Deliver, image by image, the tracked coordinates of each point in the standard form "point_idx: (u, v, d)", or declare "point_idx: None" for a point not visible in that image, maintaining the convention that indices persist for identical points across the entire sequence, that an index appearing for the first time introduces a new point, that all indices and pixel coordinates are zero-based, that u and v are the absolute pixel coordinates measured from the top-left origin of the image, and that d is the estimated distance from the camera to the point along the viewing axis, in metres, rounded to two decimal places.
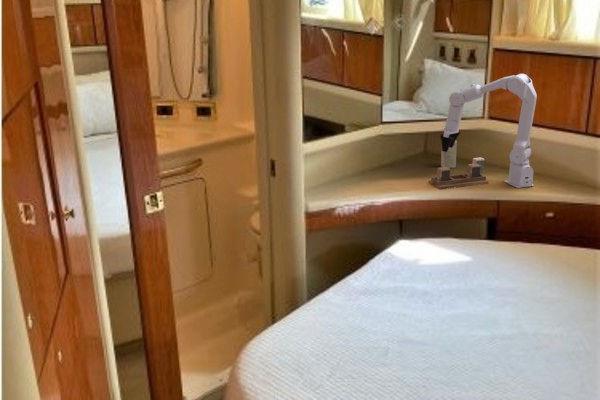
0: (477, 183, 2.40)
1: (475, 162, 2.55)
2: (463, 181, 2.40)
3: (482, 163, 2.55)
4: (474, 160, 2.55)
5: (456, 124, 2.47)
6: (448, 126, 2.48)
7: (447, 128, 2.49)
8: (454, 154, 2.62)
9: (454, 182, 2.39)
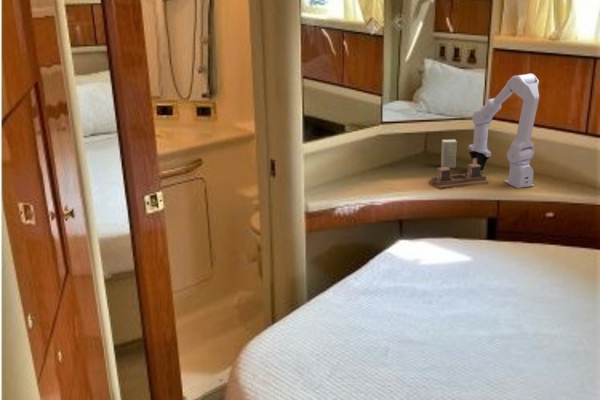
0: (477, 183, 2.40)
1: (475, 162, 2.55)
2: (463, 181, 2.40)
3: None
4: (474, 160, 2.55)
5: None
6: (481, 146, 2.51)
7: (480, 148, 2.51)
8: (454, 154, 2.62)
9: (454, 182, 2.39)
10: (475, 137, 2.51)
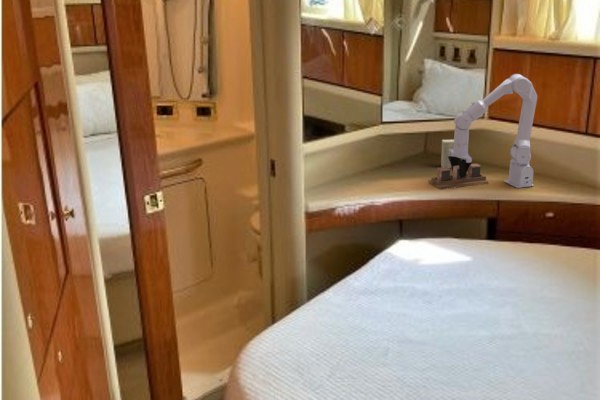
0: (477, 183, 2.40)
1: (455, 170, 2.41)
2: (463, 181, 2.40)
3: None
4: (454, 168, 2.41)
5: (467, 147, 2.37)
6: (462, 151, 2.36)
7: (461, 154, 2.36)
8: None
9: (454, 182, 2.39)
10: (461, 142, 2.35)
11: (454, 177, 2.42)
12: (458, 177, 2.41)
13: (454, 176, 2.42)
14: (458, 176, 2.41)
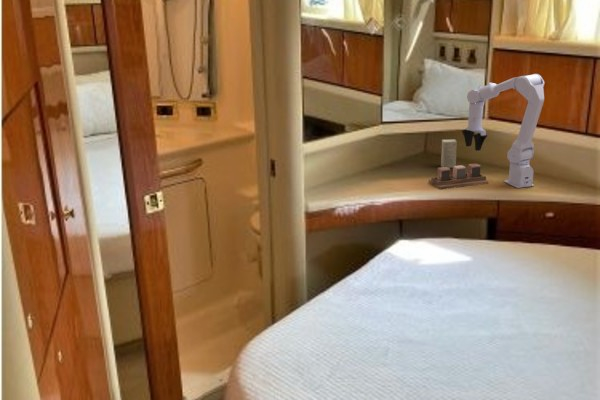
0: (477, 183, 2.40)
1: (455, 170, 2.41)
2: (463, 181, 2.40)
3: (463, 171, 2.40)
4: (454, 168, 2.41)
5: (481, 121, 2.50)
6: (476, 125, 2.49)
7: (475, 127, 2.49)
8: (454, 154, 2.62)
9: (454, 182, 2.39)
10: (470, 116, 2.49)
11: (454, 177, 2.42)
12: (458, 177, 2.41)
13: (454, 176, 2.42)
14: (458, 176, 2.41)
